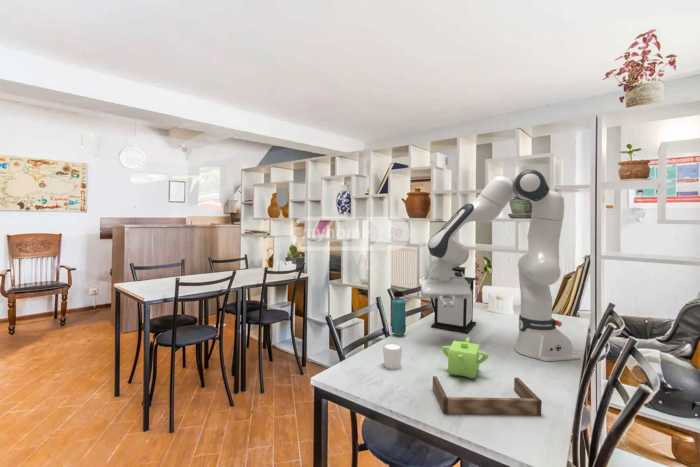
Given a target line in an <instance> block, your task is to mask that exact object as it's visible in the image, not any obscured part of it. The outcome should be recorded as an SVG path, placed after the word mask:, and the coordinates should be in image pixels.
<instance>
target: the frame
mask: <svg viewBox="0 0 700 467" xmlns="http://www.w3.org/2000/svg"><path fill="white" fill-rule="evenodd" d="M440 382H441V381H440V380H439V378H438V377H437V375H435V376H432V392H433V393H434V395H435V398H436V401H437V402H438V404H439V408H440V409H441V411H442V414H446V415H447V414H454V415H455V414H456V415H503V416H504V415H510V416H512V415H513V416H542V402H543V401H542V400H541V399H540V398H539V396H538V395H536V393H534V392H533V390H531V389H530V388H529V387H528V386H527V385H526V384H525V382H524V381H522V380H521V379H520V378H519V377H514V384H513V391H514V392H515V393H516V394H517V395H518V396H519V398H518V397H517V398H515V397H467V396H466V397H465V396H462V397H460V396H459V397H457V396H448V395H446V394H447V393H446V392H445V390H444V388H443V386H442V385H441V383H440Z"/></svg>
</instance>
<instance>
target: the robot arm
mask: <svg viewBox="0 0 700 467" xmlns="http://www.w3.org/2000/svg"><path fill="white" fill-rule="evenodd" d="M545 178H546V177H545V176H544V175H543V173H541V172H540V171H538V170H535V169H526V170H523V171H521V172H520V173H519V174H517V175H516V176H515V178H513V179H511V178H508V177H507V176H503V175H498V176H495V177H493V178H492V179H491V180H490V181H489V182H488V183H487V184H486V186H485V187H484V188H483V189H482V190H481V192H480V193H479V195H477V197H476V198H475V199H474V200H473V201H471V202H469V203H465V204H463V206H461V207H460V208H459V209H458V210H457V211H456V212H455V213H454V215H453V216H451V217H450V219H449V220H448V221H447V222H446V223H445V224H444V225H443V226H442V227H441V229H439V230H438V231H437V232H436V233H435V234H433V235H432V236H431V237H430V238H429V240H428V242H427V249H428V251H429V254H428V255H429V256H428V257H429V259H428V260H429V266H430V269H431V277H422V278H420V279H419V280H418V284H419V286H420V295H421V296H420V297H421V298H422V299H435V298H438V300H439V301H440V302H441V303H442V307H446V306H447V304H446V301H444V300H443V299H442V298H450V299H451V300H452V301H450V302H449V307H454V303H453V302H454V300H455V298H457V299H468V298H469V297H470V295H471V290H470V284H468V282H467V281H466V280H465V277H466V274H465V275H464V274H463V273H459V272H456V271H453V270H452V268H456V267H458V266H459V267H461V266H462V265H464V264H465V263H466V262H467V260H468V258H469V248H468V247H467V245H465V244H463V243H461V242H459V241H457V240H456V239H453V237H454V236H455V234H457V232H458V231H459V230H460V229H461V228H462V227H463V226H464V225H465V224H466V223H470V222H480V223H481V222H483V223H486V222H491V221H494V220H496V218H498V217H499V215H500V214H501V213H502V211H503V209H505V207H506V206H507V205H508V203H509V202H510V201H511V200H512V199H518V200H521V201H527V202H528V201H530V203H531V206H532V210H531V217H530V220H529V225H528V226H529V227H528V231H527V232H528V233H527V237H526V238H527V246H528V247H527V250H528V252H527V253H526V254H523V255H522V256H520V258H519V259H518V261H517V269H518V278H519V290H520V313H519V316H518V329H519V330H518V334H517V335H518V336H517V339H516V340H517V341H516V344H515V347H514V350H515V351H516V352H517V353H518V354H521V355H523V356H526V357H528V358H529V357H530V358H533V359H534V358H535V359H538V360H540V361H544V362H557V361H558V362H559V361H569V360H570V361H572V360H580V354H579V352H577V351H575V350H574V349H573V343H572V341H571V339H570V338H569V337H568V336H567V335H565V334H564V333H563V332H562V331H561V330H559V329H558V328H557V327H559V328H560V327H561V326H562V321H560V320H556V319H554V318H553V297H552V293H551V289H550V285H553V284H555V283H557V282H558V281H559V279H560V277H561V272H562V271H561V268H560V238H561V232H562V226H563V221H564V215H565V198H564V196H563V195H562V194H561V193H560V192H557V191H554V190H550V188H549V185H548V183H547V180H546V179H545Z"/></svg>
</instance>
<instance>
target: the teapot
mask: <svg viewBox="0 0 700 467" xmlns="http://www.w3.org/2000/svg"><path fill="white" fill-rule="evenodd" d="M470 340H471V339H470V337H466V339H465V341H459V340H453V341H452V344H451V345H444V346H442V347H441V349H440V350H441V352H442V353H443V354H444V356H445V357H446V358H447V374H451V375H452V376H460V377H466V378H468V379H471V380H472V379H476V377H477V374H478V370H479V367H480V364H483V362H486V361H487V360H488V358H489V354H488V353H486V352H484V351H482V350H480V344H479V343H472V342H470ZM447 350H448V351H447ZM480 355H481V356H482V357H481V358H480Z"/></svg>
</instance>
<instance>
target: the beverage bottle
mask: <svg viewBox="0 0 700 467" xmlns="http://www.w3.org/2000/svg"><path fill="white" fill-rule="evenodd" d="M393 296H394V298H393V299H392V300H391V325H390V328H391V329H390V330H391V333H393V334H395V335H404V334H405V333H406V329H407V328H406V327H407V326H406V314H407V313H406V301H407V300H405V299H404V298H402V297H404V292H403V291H402V290H395V291H393Z"/></svg>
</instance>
